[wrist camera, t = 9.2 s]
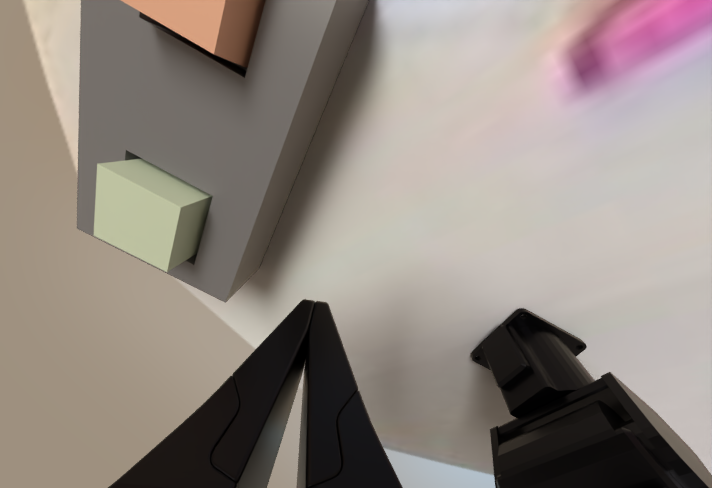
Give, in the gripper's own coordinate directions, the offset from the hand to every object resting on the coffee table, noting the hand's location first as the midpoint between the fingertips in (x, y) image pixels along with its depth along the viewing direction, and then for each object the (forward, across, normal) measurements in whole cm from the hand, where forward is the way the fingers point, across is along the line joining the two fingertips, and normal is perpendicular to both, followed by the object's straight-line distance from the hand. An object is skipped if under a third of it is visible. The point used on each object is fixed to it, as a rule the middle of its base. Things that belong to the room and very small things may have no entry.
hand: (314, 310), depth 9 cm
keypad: (+14, +8, -4) cm, 16 cm away
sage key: (+12, +10, +2) cm, 16 cm away
